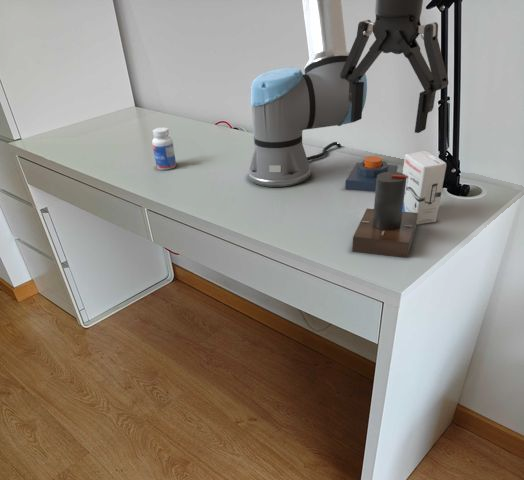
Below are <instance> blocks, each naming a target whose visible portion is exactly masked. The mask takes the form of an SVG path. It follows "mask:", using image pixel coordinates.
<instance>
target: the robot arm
mask: <svg viewBox="0 0 524 480" xmlns="http://www.w3.org/2000/svg"><path fill="white" fill-rule="evenodd" d="M301 1H302V9H303V17H304V25H305V34H306V41H307V48H308V49H307V50H308V57H309V59H308V61H307V63H306V65H305V66H304V69H303V70H304V74H303V71H302V70H301V68H299V67H292V66H291V67H286V68H285V67H282V68H277V69H273V70H270V71H266V72H264V73H261V74H260V75H258V76H257V77H255V78H254V79H253V81H252V82H251V86H250V105H251V116H252V129H253V143H254V144H253V150H252V155H251V159H250V162H249V163H250V164H249V167H248V177H249V181H250V182H252V184H255V185H258V186H261V187H267V188H282V187H292V186H296V185H298V184H302V183H304V182H305V181H307V180H308V179H309V178H310V176H311V167H310V164H309V163H310V162H309V161H313V160H316V159H320V158H322V157H324V156H326V154H327V151H328V150H329V149H331V148H333V147H335V146H336V147H338V148H341V147H342V144H341V143H339V142H338V141H333V142H331V143H329V144H328V145H326V146H324V147H323V149H322V151H321V152H320V153H318V154H314V155H310V156H307V154H306V151H305V148H304V145H303V131H305V130H314V129H321V128H328V127H329V128H330V127H336V126H337V127H341V126H343V125H347V124H353V123H356V122H358V121H360V120H362V117H363V111H364V108H365V104H366V100H367V94H368V93H367V92H368V79H367V74H366V73H367V71H369V69H370V68H371V66H372V65H373V64H374V62H375V61H376V60H377V59H378V57H379V56H380V55H381V53H383V54H389V53H392V54H395V55H401V54H403V56H404V57H405V58H406V59H407V60H408V62H409V64H410V66H411V67H412V70H413V72H414V74H415V75H416V77H417V79H418V81H419V83H420V84H421V86H422V88H423V90H424V91H421V92H419V97H418V103H417V111H416V119H415V127H414V133H415V134H419V133H421V132H424V131H425V130H426V128H427V123H428V115H429V113H431V112H433V109H434V106H435V100H436V93H437V91H440V90H443V89H444V88H447V87H448V85H449V78H448V73H447V69H446V66H445V63H444V59H443V55H442V51H441V46H440V43H439V39H438V36H439V23H438V22H437V21H435V22H434V21H433V22H431V23H427V24H421V15H422V11H423V4H424V3H423V2H424V0H375V7H374V14H375V20H374V22H373V21H372V20H370V19H366V20H362V21H359V22H358V25H357V31H356V37H355V38H354V41H353V44H352V46H351V48H350V51H348V50H347V41H346V33H345V25H344V16H343V5H342V0H301ZM372 34H373V35H374V38H375V40H374V41H373V43H372V44H371V45H370V47H369V49H368V51H367V53H366V54H365V55H364V57H363V58H362V59H361V61H360V58H361V57H362V54H363V52H364V50H365V48H366V45H367V44H368V42H369V38H370V36H372ZM419 35H420V37H421V39H422V40H423V46H424V51H425V53H426V58H427V61H428V63H427V61H426V59H425V58H424V56H423V54H422V52H421V46H420V45H419V43H418V41H417V38H418V37H419ZM359 61H360V62H359ZM337 142H338V143H339V144H337Z"/></svg>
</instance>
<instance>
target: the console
mask: <svg viewBox="0 0 524 480" xmlns="http://www.w3.org/2000/svg"><path fill="white" fill-rule="evenodd" d="M373 213H374V208H366V209H365V211H364V214H363V215H362V217H361V220H360V222H359V224H358V226H357V228H356V230H355V232H354V233H353V236H352V246H351V248H352V249H351V251H352V252H354V253H363V254H373V255H379V256H389V257H395V258H396V257H397V258H406V259H407V258H408V256H409V253H410V249H411V247H412V246H411V245H412V243H413V239H414V235H415V231H416V229H417V225H416V223H417V216H418V213H413V212H402V219H401V226H400V227H399V228H397V229H394V230H382V229H378V228H376V227H374V226H373Z"/></svg>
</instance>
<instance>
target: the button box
mask: <svg viewBox="0 0 524 480" xmlns="http://www.w3.org/2000/svg"><path fill="white" fill-rule="evenodd" d="M364 163H365V160H363V161H360V162H356V163H355V165H354V166H353V168H352V170H351V171H350V173H349V175H348V176H347V178H346V179H345V190H351V191H361V192H362V191H363V192H373V193H375V190H376V179H377V175H378V174H380V173H384V172H398V167H399V166H398V164H388V162H386V161H383V160H382V167H380V168H367V167H364Z"/></svg>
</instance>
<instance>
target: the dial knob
mask: <svg viewBox="0 0 524 480" xmlns="http://www.w3.org/2000/svg"><path fill="white" fill-rule="evenodd" d="M406 179H407V176H406V175H405V174H403V172H399V171H397V172H384V173H380V174H378V175H377V179H376V190H375V192H374V203H373V209H374V213H373V226H374V227H376V228H378V229H382V230H394V229H397V228H399V227H400V226H401V219H402V211H403V203H404V195H405V187H406Z"/></svg>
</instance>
